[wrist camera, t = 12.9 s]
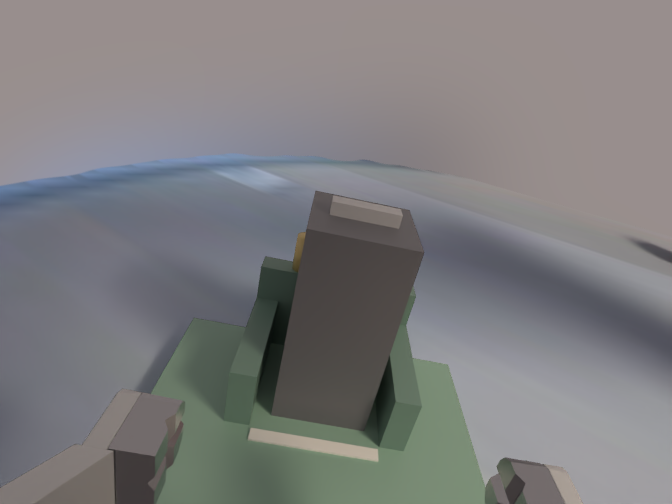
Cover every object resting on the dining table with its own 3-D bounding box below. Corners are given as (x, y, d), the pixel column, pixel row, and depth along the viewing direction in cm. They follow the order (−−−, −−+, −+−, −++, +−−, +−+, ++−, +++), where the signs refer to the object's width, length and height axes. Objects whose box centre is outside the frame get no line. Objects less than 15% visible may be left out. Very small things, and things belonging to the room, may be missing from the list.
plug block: (364, 431, 21) (429, 238, 16) (271, 415, 20) (309, 214, 16) (361, 366, 25) (412, 198, 20) (284, 352, 24) (318, 178, 20)
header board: (502, 600, 16) (604, 460, 13) (81, 537, 15) (63, 366, 12) (441, 376, 27) (486, 267, 24) (193, 331, 26) (202, 210, 23)
